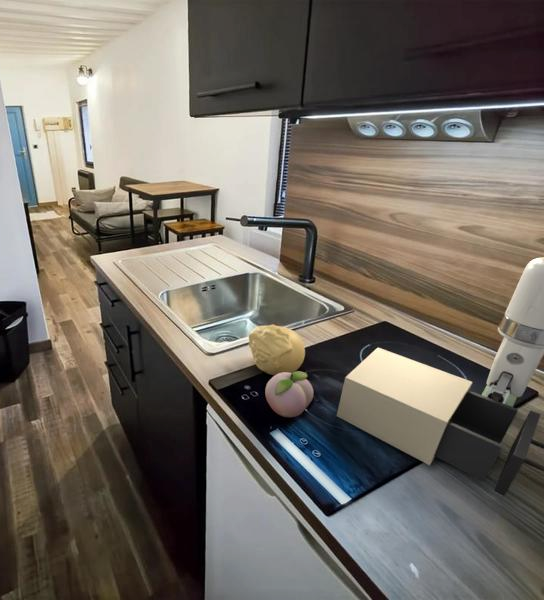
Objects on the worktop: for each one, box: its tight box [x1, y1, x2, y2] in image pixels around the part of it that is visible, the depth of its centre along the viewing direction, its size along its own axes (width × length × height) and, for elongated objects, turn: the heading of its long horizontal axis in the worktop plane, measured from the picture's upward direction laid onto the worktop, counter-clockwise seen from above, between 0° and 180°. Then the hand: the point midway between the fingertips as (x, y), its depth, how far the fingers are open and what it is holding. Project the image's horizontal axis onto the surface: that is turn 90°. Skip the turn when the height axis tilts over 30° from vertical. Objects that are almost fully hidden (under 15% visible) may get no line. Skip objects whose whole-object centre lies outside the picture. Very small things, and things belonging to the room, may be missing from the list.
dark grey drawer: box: [434, 390, 544, 497], centre depth 60 cm, size 20×13×8 cm
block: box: [481, 384, 518, 407], centre depth 70 cm, size 4×4×4 cm
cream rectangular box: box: [336, 347, 473, 466], centre depth 69 cm, size 16×15×10 cm
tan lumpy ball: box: [248, 323, 306, 377], centre depth 85 cm, size 11×12×11 cm
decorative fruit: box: [264, 370, 314, 418], centre depth 71 cm, size 9×8×10 cm
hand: (492, 405), depth 70 cm, fingers open, 9 cm apart
